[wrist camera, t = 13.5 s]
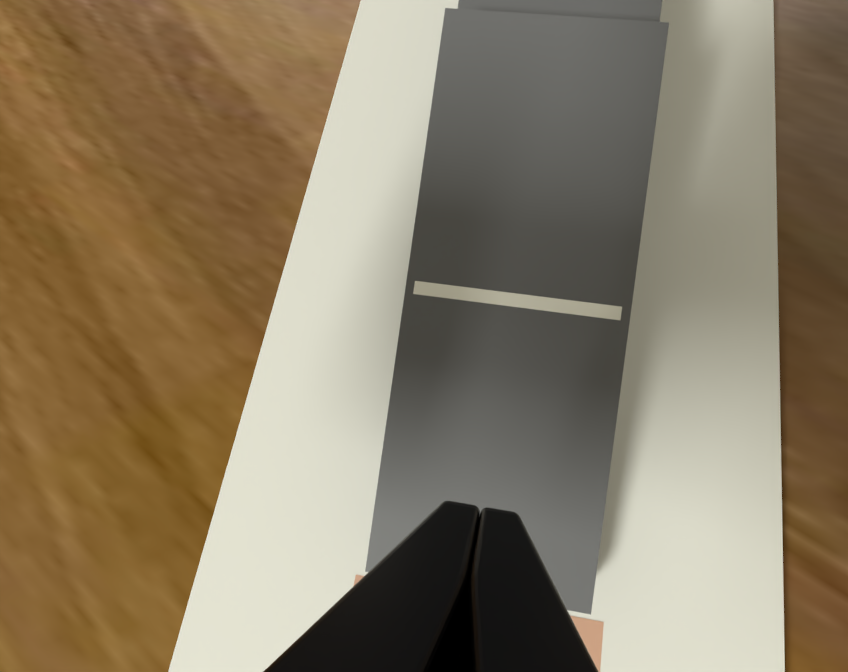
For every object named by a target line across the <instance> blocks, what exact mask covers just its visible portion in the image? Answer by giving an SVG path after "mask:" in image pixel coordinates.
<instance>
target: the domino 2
mask: <svg viewBox="0 0 848 672" xmlns="http://www.w3.org/2000/svg"><path fill="white" fill-rule="evenodd" d="M668 28H669V22H653V21H638V20H623V19H607V18H592V17H576V16H561V15H546V14H530V13H515V12H500V11H484V10H469V9H453V8H445V13H444V20H443V27H442V34H441V41H440V48H439V55H438V62H437V69H436V76H435V83H434V90H433V97H432V104H431V111H430V118H429V125H428V132H427V140H426V147H425V154H424V161H423V168H422V175H421V182H420V189H419V196H418V203H417V210H416V217H415V224H414V231H413V238H412V245H411V252H410V259H409V266H408V273H407V280H406V287H405V294H404V301H403V308H402V315H401V322H400V330H399V337H398V344H397V351H396V358H395V365H394V372H393V379H392V386H391V393H390V400H389V407H388V414H387V421H386V428H385V435H384V442H383V449H382V456H381V463H380V470H379V477H378V484H377V491H376V498H375V505H374V512H373V520H372V527H371V534H370V541H369V548H368V555H367V562H366V569H365V572H369V571H370V570H371V569H372V568H373V567H374V566H376V565H377V564H378V563H379V562H380V561H381V560H382V559H383V558H384V557H385V556H386V555H387V554H388V553H389V552H390V551H391V550H392V549H394V548H395V547H396V546H397V545H398V544H399V543H400V542H401V541H402V540H403V539H404V538H405V537H406V536H407V535H408V534H409V533H410V532H411V531H413V530H414V529H415V528H416V527H417V526H418V525H419V524H420V523H421V522H422V521H423V520H424V519H425V518H426V517H427V516H428V515H429V514H431V513H432V512H433V511H434V510H435V509H436V508H437V507H438V506H439V505H440V504H441V503H442V502H444V501H454V502H460V503H466V504H471V505H476V506H477V507H478V508H479V510H480V513H481V510H482V509H483V508H485V507H489V508H495V509H501V510H507V511H512V512H516V513H517V514H518V515H519V516H520V518H521V520H522V522H523V524H524V526H525V528H526V530H527V532H528V533H529V535H530V537H531V539H532V541H533V543H534V545H535V547H536V549H537V551H538V553H539V555H540V557H541V559H542V561H543V563H544V565H545V567H546V569H547V571H548V573H549V575H550V577H551V579H552V581H553V583H554V585H555V587H556V589H557V591H558V593H559V595H560V597H561V599H562V601H563V603H564V605H565V607H566V609H567V610H569V611H575V612H580V613H585V614H590V615H591V610H592V603H593V595H594V587H595V580H596V572H597V565H598V557H599V550H600V542H601V534H602V527H603V519H604V512H605V504H606V497H607V489H608V482H609V474H610V466H611V459H612V451H613V444H614V436H615V429H616V421H617V413H618V406H619V398H620V391H621V383H622V376H623V368H624V361H625V353H626V345H627V338H628V330H629V323H630V315H631V308H632V300H633V293H634V285H635V277H636V270H637V262H638V255H639V247H640V240H641V232H642V224H643V217H644V209H645V202H646V194H647V187H648V179H649V172H650V164H651V156H652V149H653V141H654V134H655V126H656V119H657V111H658V104H659V96H660V88H661V81H662V73H663V66H664V58H665V51H666V43H667V35H668Z"/></svg>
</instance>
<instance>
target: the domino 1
mask: <svg viewBox="0 0 848 672" xmlns="http://www.w3.org/2000/svg"><path fill="white" fill-rule="evenodd" d="M661 8H662V0H459V2H458V9H469V10H484V11H500V12H515V13H530V14H546V15H561V16H576V17H592V18H607V19H623V20H638V21H653V22H660V15H661Z"/></svg>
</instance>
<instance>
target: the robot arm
mask: <svg viewBox="0 0 848 672" xmlns="http://www.w3.org/2000/svg"><path fill="white" fill-rule="evenodd" d="M263 672H598V670H597V668H596V666H595V664H594V662H593V660H592V658H591V656H590V654H589V652H588V650H587V648H586V646H585V644H584V642H583V640H582V638H581V636H580V634H579V632H578V630H577V628H576V626H575V624H574V622H573V620H572V618H571V616H570V614H569V613H568V611H567V609H566V607H565V605H564V603H563V601H562V599H561V597H560V595H559V593H558V591H557V589H556V587H555V585H554V583H553V581H552V579H551V577H550V575H549V573H548V571H547V569H546V567H545V565H544V563H543V561H542V559H541V557H540V555H539V553H538V551H537V549H536V547H535V545H534V543H533V541H532V539H531V537H530V535H529V533H528V532H527V530H526V528H525V526H524V524H523V522H522V520H521V518H520V516H519V515H518V514H517V513H516V512H512V511H507V510H501V509H495V508H489V507H485V508H483V509H482V510H481V513H480V510H479V508H478V507H477V506H476V505H471V504H466V503H460V502H454V501H444V502H442V503H441V504H440V505H439V506H438V507H437V508H436V509H435V510H434V511H433V512H432V513H431V514H429V515H428V516H427V517H426V518H425V519H424V520H423V521H422V522H421V523H420V524H419V525H418V526H417V527H416V528H415V529H414V530H413V531H411V532H410V533H409V534H408V535H407V536H406V537H405V538H404V539H403V540H402V541H401V542H400V543H399V544H398V545H397V546H396V547H395V548H394V549H392V550H391V551H390V552H389V553H388V554H387V555H386V556H385V557H384V558H383V559H382V560H381V561H380V562H379V563H378V564H377V565H376V566H374V567H373V568H372V569H371V570H370V571H369V572H368V573H367V574H366V575H365V576H364V577H363V578H362V579H361V580H360V581H359V582H358V583H356V584H355V585H354V586H353V587H352V588H351V589H350V590H349V591H348V592H347V593H346V594H345V595H344V596H343V597H342V598H341V599H340V600H339V601H337V602H336V603H335V604H334V605H333V606H332V607H331V608H330V609H329V610H328V611H327V612H326V613H325V614H324V615H323V616H322V617H321V618H319V619H318V620H317V621H316V622H315V623H314V624H313V625H312V626H311V627H310V628H309V629H308V630H307V631H306V632H305V633H304V634H303V635H301V636H300V637H299V638H298V639H297V640H296V641H295V642H294V643H293V644H292V645H291V646H290V647H289V648H288V649H287V650H286V651H285V652H283V653H282V654H281V655H280V656H279V657H278V658H277V659H276V660H275V661H274V662H273V663H272V664H271V665H270V666H269V667H268V668H267V669H265V670H264V671H263Z"/></svg>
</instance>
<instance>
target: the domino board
mask: <svg viewBox="0 0 848 672" xmlns="http://www.w3.org/2000/svg"><path fill="white" fill-rule="evenodd" d="M458 2H459V0H361V2H360V5H359V9H358V12H357V16H356V19H355V23H354V26H353V30H352V33H351V37H350V40H349V44H348V47H347V51H346V54H345V58H344V61H343V65H342V68H341V72H340V75H339V79H338V82H337V86H336V89H335V93H334V96H333V100H332V103H331V107H330V110H329V113H328V117H327V120H326V124H325V127H324V131H323V134H322V138H321V141H320V145H319V148H318V152H317V155H316V159H315V162H314V166H313V169H312V173H311V176H310V180H309V183H308V187H307V190H306V194H305V197H304V201H303V204H302V208H301V211H300V215H299V218H298V221H297V225H296V228H295V232H294V235H293V239H292V242H291V246H290V249H289V253H288V256H287V260H286V263H285V267H284V270H283V274H282V277H281V281H280V284H279V288H278V291H277V295H276V298H275V302H274V305H273V309H272V312H271V316H270V319H269V323H268V326H267V329H266V333H265V336H264V340H263V343H262V347H261V350H260V354H259V357H258V361H257V364H256V368H255V371H254V375H253V378H252V382H251V385H250V389H249V392H248V396H247V399H246V403H245V406H244V410H243V413H242V417H241V420H240V424H239V427H238V431H237V434H236V437H235V441H234V444H233V448H232V451H231V455H230V458H229V462H228V465H227V469H226V472H225V476H224V479H223V483H222V486H221V490H220V493H219V497H218V500H217V504H216V507H215V511H214V514H213V518H212V521H211V525H210V528H209V532H208V535H207V539H206V542H205V545H204V549H203V552H202V556H201V559H200V563H199V566H198V570H197V573H196V577H195V580H194V584H193V587H192V591H191V594H190V598H189V601H188V605H187V608H186V612H185V615H184V619H183V622H182V626H181V629H180V633H179V636H178V640H177V643H176V647H175V650H174V653H173V657H172V660H171V664H170V667H169V671H168V672H263V671H264V670H265V669H267V668H268V667H269V666H270V665H271V664H272V663H273V662H274V661H275V660H276V659H277V658H278V657H279V656H280V655H281V654H282V653H283V652H285V651H286V650H287V649H288V648H289V647H290V646H291V645H292V644H293V643H294V642H295V641H296V640H297V639H298V638H299V637H300V636H301V635H303V634H304V633H305V632H306V631H307V630H308V629H309V628H310V627H311V626H312V625H313V624H314V623H315V622H316V621H317V620H318V619H319V618H321V617H322V616H323V615H324V614H325V613H326V612H327V611H328V610H329V609H330V608H331V607H332V606H333V605H334V604H335V603H336V602H337V601H339V600H340V599H341V598H342V597H343V596H344V595H345V594H346V593H347V592H348V591H349V590H350V589H351V588H352V587H353V586H354V585H355V584H356V583H358V582H359V581H360V580H361V579H362V578H363V577H364V576H365V575H366V574H367V573H368V572H365V569H366V562H367V555H368V548H369V541H370V534H371V527H372V520H373V512H374V505H375V498H376V491H377V484H378V477H379V470H380V463H381V456H382V449H383V442H384V435H385V428H386V421H387V414H388V407H389V400H390V393H391V386H392V379H393V372H394V365H395V358H396V351H397V344H398V337H399V330H400V322H401V315H402V308H403V301H404V294H405V287H406V280H407V273H408V266H409V259H410V252H411V245H412V238H413V231H414V224H415V217H416V210H417V203H418V196H419V189H420V182H421V175H422V168H423V161H424V154H425V147H426V140H427V132H428V125H429V118H430V111H431V104H432V97H433V90H434V83H435V76H436V69H437V62H438V55H439V48H440V41H441V34H442V27H443V20H444V13H445V8H453V9H458ZM660 22H669V28H668V35H667V43H666V51H665V58H664V66H663V73H662V81H661V88H660V96H659V104H658V111H657V119H656V126H655V134H654V141H653V149H652V156H651V164H650V172H649V179H648V187H647V194H646V202H645V209H644V217H643V224H642V232H641V240H640V247H639V255H638V262H637V270H636V277H635V285H634V293H633V300H632V308H631V315H630V323H629V330H628V338H627V345H626V353H625V361H624V368H623V376H622V383H621V391H620V398H619V406H618V413H617V421H616V429H615V436H614V444H613V451H612V459H611V466H610V474H609V482H608V489H607V497H606V504H605V512H604V519H603V527H602V534H601V542H600V550H599V557H598V565H597V572H596V580H595V587H594V595H593V603H592V610H591V615H590V614H585V613H580V612H575V611H569V610H567V611H568V613H569V614H570V616H571V618H572V620H573V622H574V624H575V626H576V628H577V630H578V632H579V634H580V636H581V638H582V640H583V642H584V644H585V646H586V648H587V650H588V652H589V654H590V656H591V658H592V660H593V662H594V664H595V666H596V668H597V670H598V672H785V653H784V594H783V536H782V477H781V418H780V359H779V300H778V241H777V183H776V124H775V65H774V6H773V0H662V8H661V15H660Z"/></svg>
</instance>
